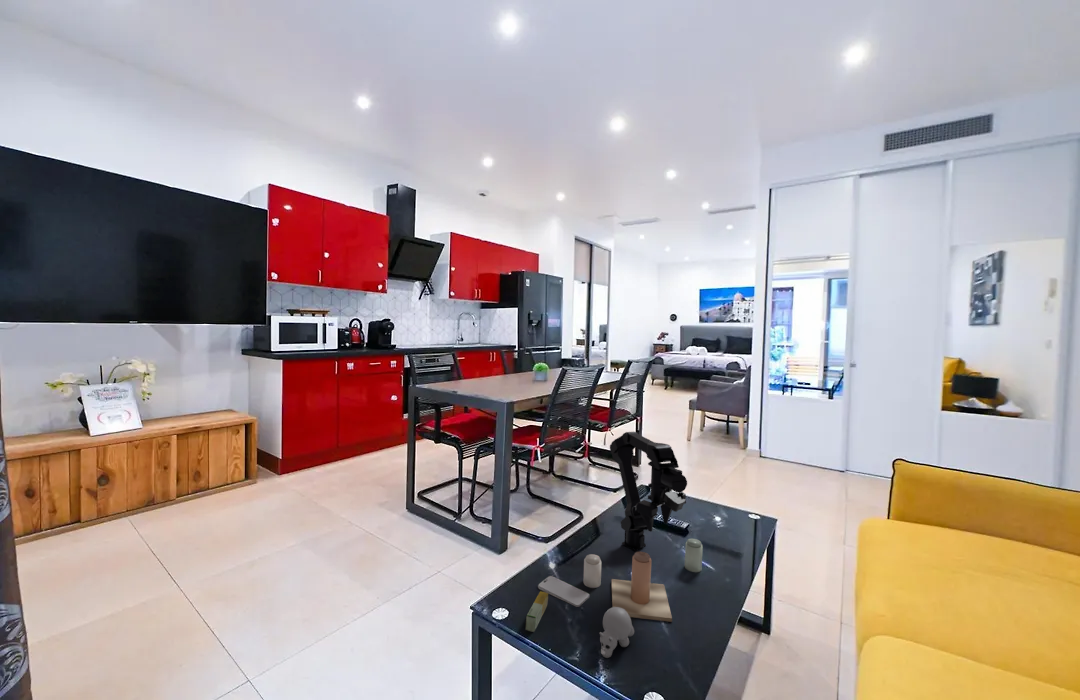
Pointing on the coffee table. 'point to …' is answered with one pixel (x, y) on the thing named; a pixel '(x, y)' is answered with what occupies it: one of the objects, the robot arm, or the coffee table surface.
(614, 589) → the beige cloth
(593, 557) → the cream jar
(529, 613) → the medication box
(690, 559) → the sage jar
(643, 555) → the terracotta jar
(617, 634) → the chubby cartoon animal
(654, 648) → the coffee table surface
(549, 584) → the smartphone
